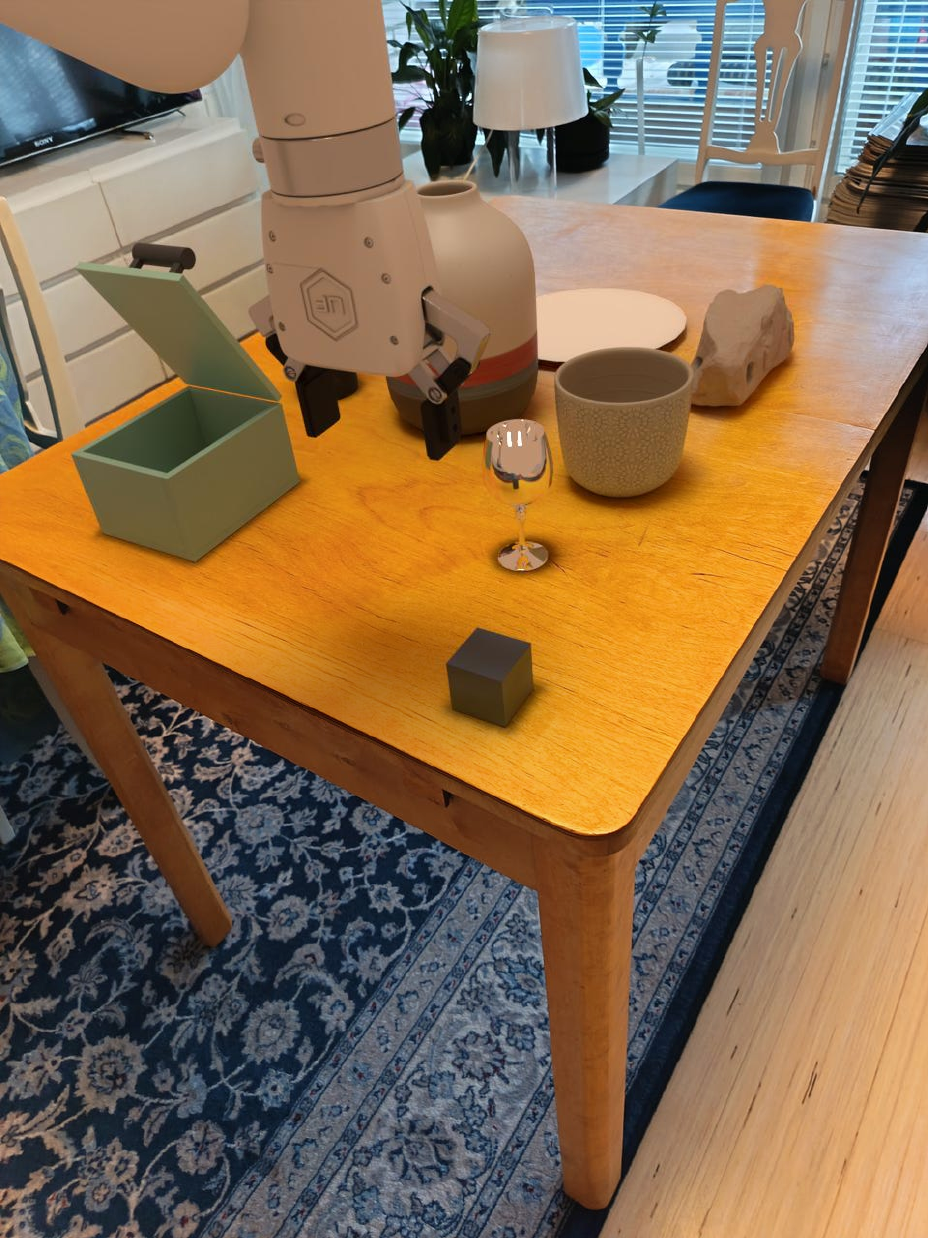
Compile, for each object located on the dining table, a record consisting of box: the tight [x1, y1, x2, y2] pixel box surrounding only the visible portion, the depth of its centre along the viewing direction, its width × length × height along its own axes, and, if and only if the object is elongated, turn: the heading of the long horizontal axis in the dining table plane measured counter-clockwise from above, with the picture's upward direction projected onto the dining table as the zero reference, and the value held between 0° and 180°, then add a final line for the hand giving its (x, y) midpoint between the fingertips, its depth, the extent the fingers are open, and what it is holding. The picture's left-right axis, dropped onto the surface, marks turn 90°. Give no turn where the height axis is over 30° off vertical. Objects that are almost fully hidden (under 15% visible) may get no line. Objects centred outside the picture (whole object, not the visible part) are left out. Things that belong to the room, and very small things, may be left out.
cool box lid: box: [75, 242, 283, 403], centre depth 84 cm, size 16×13×5 cm
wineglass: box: [481, 418, 554, 572], centre depth 76 cm, size 6×6×12 cm
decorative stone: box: [690, 284, 795, 407], centre depth 99 cm, size 20×8×10 cm, turn 145°
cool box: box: [70, 385, 301, 563], centre depth 89 cm, size 16×13×9 cm
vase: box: [385, 179, 539, 436], centre depth 96 cm, size 17×17×24 cm
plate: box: [536, 287, 688, 365], centre depth 117 cm, size 25×25×2 cm
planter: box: [553, 347, 694, 498], centre depth 85 cm, size 12×12×11 cm
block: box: [445, 626, 534, 728], centre depth 64 cm, size 4×4×4 cm
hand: (382, 439), depth 61 cm, fingers open, 9 cm apart
